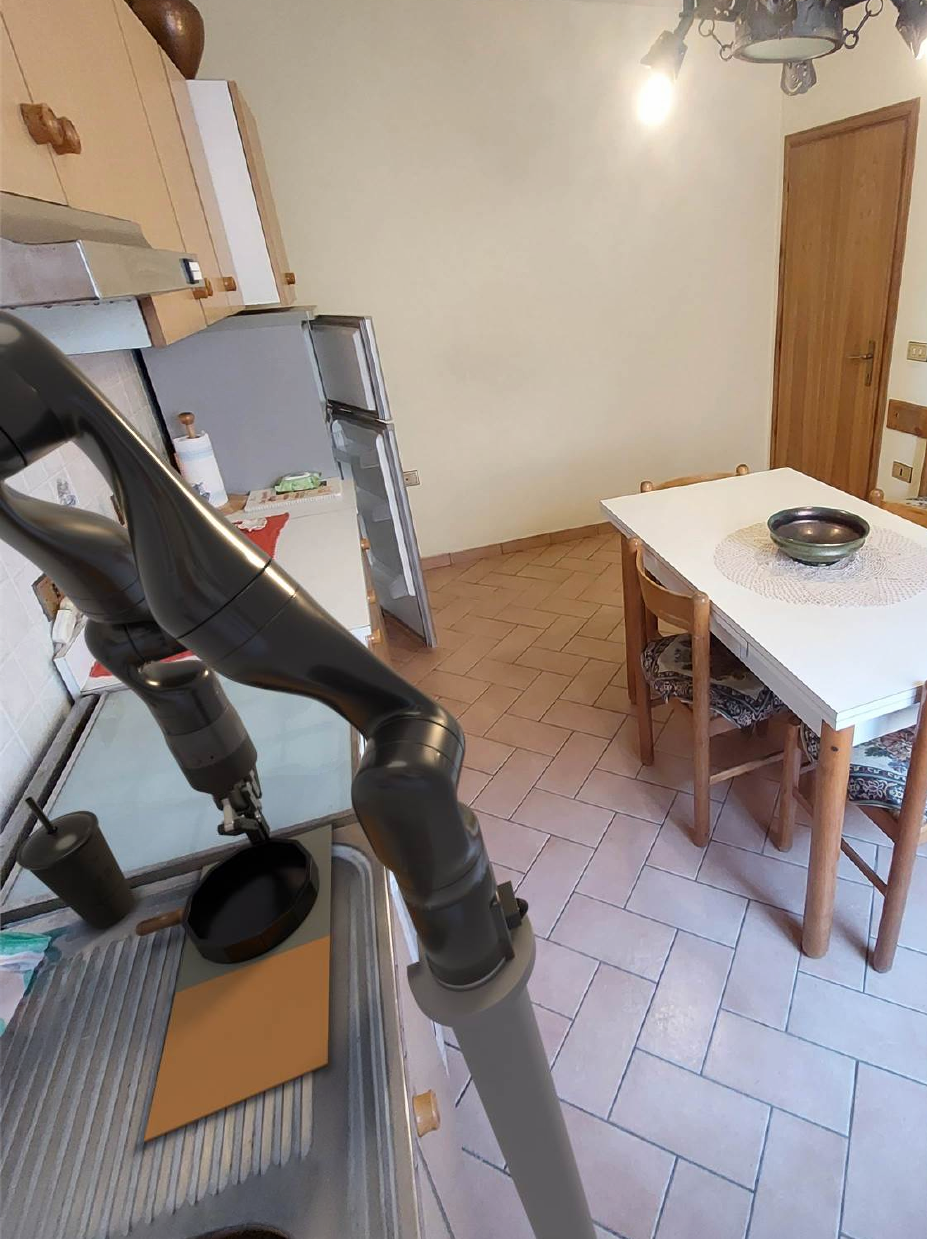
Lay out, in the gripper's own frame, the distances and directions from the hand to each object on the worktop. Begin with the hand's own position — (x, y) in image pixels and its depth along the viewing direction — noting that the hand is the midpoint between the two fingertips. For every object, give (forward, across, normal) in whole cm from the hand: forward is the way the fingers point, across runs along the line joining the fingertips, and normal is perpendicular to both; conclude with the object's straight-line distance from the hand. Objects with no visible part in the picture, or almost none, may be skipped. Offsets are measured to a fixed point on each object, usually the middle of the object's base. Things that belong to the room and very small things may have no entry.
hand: (261, 837), depth 86 cm
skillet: (+2, -9, +3) cm, 9 cm away
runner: (+3, -15, 0) cm, 15 cm away
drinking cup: (+3, -1, +18) cm, 18 cm away
